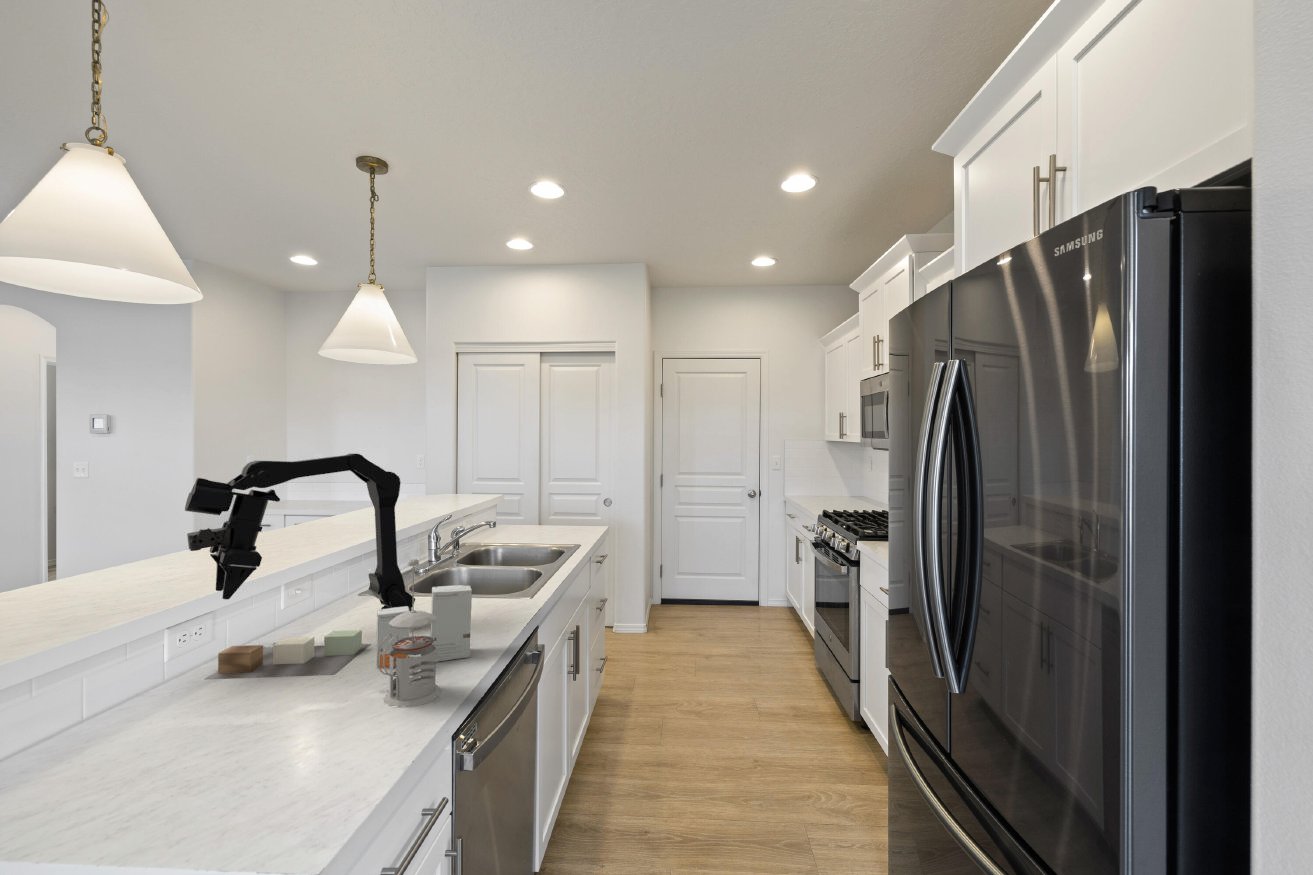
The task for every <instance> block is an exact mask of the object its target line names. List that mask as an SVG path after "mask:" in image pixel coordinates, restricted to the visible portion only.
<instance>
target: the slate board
mask: <svg viewBox="0 0 1313 875" xmlns="http://www.w3.org/2000/svg"><path fill="white" fill-rule="evenodd" d="M371 645H372V644H371V643H363V644H362V648H361V649H360V650H359V651H358V652H356V653H355V654H354V655H333V656H324V644H322V645H314V657H312V658H311V659H310V660H308V661H307V662H305V663H301V664H273V646H267V647H266V646H263V665H262V666H260V667H259V668H257V669H255V670H254V671H252V672H251V673H226V674H218V670H217V671H215V672H213V673H212V674H210V675H209V676H206V677H205V678H204V680H223V679H224V680H225V679H227V680H228V679H230V680H231V679H256V678H259V679H260V678H283V677H284V678H287V677H311V676H335V675H336V674H337V673H338V672H340V671H341V670H342V669H344V667H346V666H347V665H348V664H349V663H350V662H351V661H352V660H354V659H355V658H357V657H358V656H359V655H360V654H361V653H363V652H364V651H365V650H366V649H367V648H369V647H370V646H371Z"/></svg>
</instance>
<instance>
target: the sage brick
mask: <svg viewBox="0 0 1313 875" xmlns="http://www.w3.org/2000/svg"><path fill="white" fill-rule="evenodd" d="M362 634H363V630H362V629H353V630H351V629H349V630H347V629H346V630H332V631H331V632H329V633H328V634H326V635H325V636H324V638H323V640H324V641H323V645H324V656H333V655H354V654H355V653H356V652H358V651H359V650H360V649H361V648H362V640H363V638H362V637H363V636H362Z"/></svg>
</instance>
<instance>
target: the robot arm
mask: <svg viewBox="0 0 1313 875" xmlns="http://www.w3.org/2000/svg"><path fill="white" fill-rule="evenodd" d="M342 472H351V473H352V474H354V475H355V476H356V477H357V478H358V479H359V480H361V481H362V482H364V483H365V484H366V487H367V491H368V495H369V498H370V501H371V503H372V506H373V509H374V523H375V525H374V526H375V544H376V548H375V549H376V568H375V571H374V572H373V573H372V572H369V573H368V579H369V587H368V590H369V591H371V594H372V595H373V597H374V598H376V599H378V600H379V602H380V604H381V605H383V606H382V607H381V608H380V609H389V608H394V607H405V606H408V607H409V611H412V598H413V595H411V594H410V593H408V591H406V586H405V581H404V580H405V579H404V576H403V574H402V572H401V570H400V568H399V565H398V550H397V547H398V546H397V529H396V528H397V526H396V505H397V502H398V499H399V496H400V490H401V484H402V483H401V479H400V478H401V477H400V476H399V475H397V474H396V473H395V472H393V471H389V470H388V471H387V470H385V469H383V468H382V467H380V466H379V465H378V464H377V465H376V464H375V463H373V462H371V461H370V460H369V459H367V458H366V457H364V456H363V455H362V454H360V453H348V454H344V455H337V456H326V457H319V458H318V457H317V458H310V459H305V460H304V459H303V460H294V461H281V460H253V461H250V462H248V463H247V464H246V465H245V466H244V467H243V468H242V470H241V473H240V474H239V475H237V476H235V477H234V478H232V479H230V481H228V482H220V481H214V480H209V479H207V478H203V477H197V478H196V479H195V482H194V484H193V486H192V488H191V492H189V493H188V495H187V498H186V502H185V507H184V511H185V512H189V513H190V512H192V513H198V514H205V515H213V516H221V514H222V512H224V513H225V512H229V510H230V507H231V506H232V508H231V511H230V514H229V517H228V520H225V521H224V522H223V524H222V527H219V528H218V527H217V528H210V527H208V528H206V529H201V528H200V529H199V530H198V531H192V532H188V533H187V534H186V536H187V543H188V549H189V551H190V552H195V551H201V550H202V549H207V548H209V551H208V552H209V553H210V557H211V558H212V559H213V561H214V562H215V563H216V572H215V574H216V575H215V576H216V577H215V591H216V592H222V597H221V598H222V599H223V600H230V599H231V598H232V597H233V595H234V594H235V593H236V592H237V591H238V589H239V588H240V587H241V586H242V585H243V584H244V583H245V581H246V580H247V579H248V578H249V577H251V575H252V574H253V572H255V571H256V570H257V569H258V568H259V567H260V565H261V563H262V559H263V557H262V555H261V554H260V553H259V552H258V551H257V546H256V545H255V544H256V542H257V539H258V536H259V532H262V529H263V526H262V522H263V519H264V518H265V517H264V516H265V513H266V510H267V507H268V506H267V505H268V503H269V501H271V502H275V503H278V502H280V501H281V498H280V497H279V496H278V495H277V493H276V491H275V489H269V490H267V491H262V490H256V489H252V488H257V489H267V488H269V487H274V486H277V485H280V484H285V483H286V482H289V481H292V480H295V479H299V478H305V477H306V478H307V477H314V476H320V475H326V474H334V473H342ZM249 489H250V490H249ZM233 490H239V491H247V490H249V492H248V493H243V492H242V493H241V492H236V491H233ZM234 496H235V498H234ZM233 499H234V501H233ZM232 502H233V504H232ZM415 602H416V598H415V597H414V603H415Z"/></svg>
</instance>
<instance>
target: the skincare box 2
mask: <svg viewBox="0 0 1313 875" xmlns="http://www.w3.org/2000/svg"><path fill="white" fill-rule="evenodd" d="M472 593H473V590H472V587H471V585H470V584H459V585H458V584H457V585H441V586H432V587H431V614H433V615H435V616H436V620H435V621H434V622H433V623H432V624H430V637H432V638H433V639H434V642H433V643H432V645H434V646H435V648H436V661H435V663H437V662H444V661H450V660H458V659H459V660H460V659H468V658H469V657H470V656H471V654H470V653H471V629H472V628H471V625H472V598H473V597H472V595H473V594H472Z"/></svg>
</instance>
